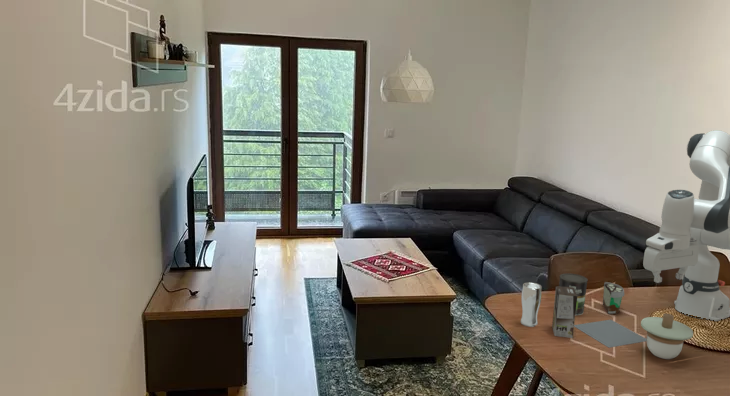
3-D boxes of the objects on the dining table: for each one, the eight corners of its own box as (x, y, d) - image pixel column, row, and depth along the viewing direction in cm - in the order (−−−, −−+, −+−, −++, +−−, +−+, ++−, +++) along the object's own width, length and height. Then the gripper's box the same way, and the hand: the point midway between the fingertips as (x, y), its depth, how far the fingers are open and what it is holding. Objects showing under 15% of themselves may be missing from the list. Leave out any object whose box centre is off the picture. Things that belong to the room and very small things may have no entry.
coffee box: (573, 339, 186) (578, 296, 183) (554, 337, 188) (558, 294, 185) (569, 328, 195) (574, 287, 192) (551, 326, 197) (555, 285, 193)
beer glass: (516, 319, 202) (519, 282, 199) (534, 319, 202) (537, 282, 199) (523, 327, 195) (526, 289, 192) (541, 327, 195) (545, 289, 192)
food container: (625, 318, 205) (628, 294, 203) (608, 316, 206) (611, 292, 204) (617, 305, 217) (620, 282, 215) (601, 304, 218) (604, 281, 216)
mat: (610, 320, 202) (610, 319, 202) (649, 341, 186) (649, 340, 186) (572, 326, 197) (572, 325, 196) (608, 348, 180) (608, 347, 180)
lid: (663, 317, 184) (666, 304, 183) (703, 336, 170) (706, 322, 169) (630, 322, 179) (632, 308, 178) (668, 342, 165) (671, 327, 164)
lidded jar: (666, 347, 182) (669, 321, 180) (688, 363, 172) (692, 336, 170) (637, 348, 181) (640, 323, 179) (658, 364, 170) (662, 337, 168)
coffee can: (583, 318, 204) (587, 283, 201) (555, 313, 208) (559, 279, 205) (583, 308, 213) (587, 275, 211) (556, 304, 217) (560, 271, 214)
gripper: (689, 234, 178) (683, 273, 181) (642, 240, 171) (637, 280, 174) (706, 240, 172) (700, 280, 175) (658, 245, 165) (653, 287, 168)
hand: (668, 280), depth 174 cm, fingers open, 8 cm apart
